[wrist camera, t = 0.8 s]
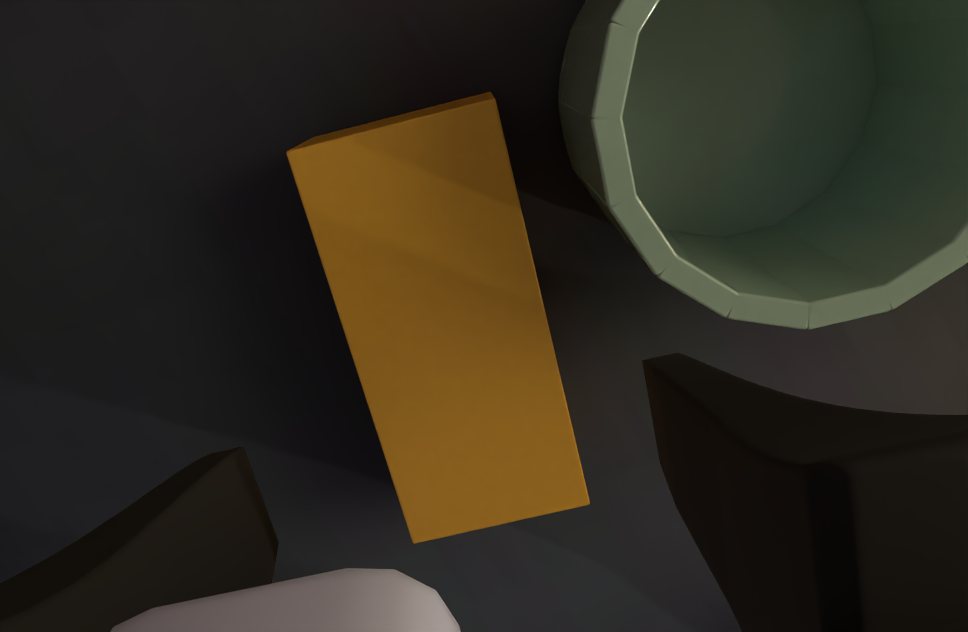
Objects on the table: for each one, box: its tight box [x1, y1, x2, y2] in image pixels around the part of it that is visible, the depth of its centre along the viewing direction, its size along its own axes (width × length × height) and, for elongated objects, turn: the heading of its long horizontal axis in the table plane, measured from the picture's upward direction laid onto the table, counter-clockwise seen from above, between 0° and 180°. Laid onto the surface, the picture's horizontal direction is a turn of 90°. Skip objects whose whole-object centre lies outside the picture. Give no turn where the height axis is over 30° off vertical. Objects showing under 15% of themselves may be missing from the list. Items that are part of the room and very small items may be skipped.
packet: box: [286, 92, 590, 543], centre depth 21 cm, size 5×11×3 cm, turn 14°
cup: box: [558, 0, 968, 329], centre depth 18 cm, size 9×9×6 cm
